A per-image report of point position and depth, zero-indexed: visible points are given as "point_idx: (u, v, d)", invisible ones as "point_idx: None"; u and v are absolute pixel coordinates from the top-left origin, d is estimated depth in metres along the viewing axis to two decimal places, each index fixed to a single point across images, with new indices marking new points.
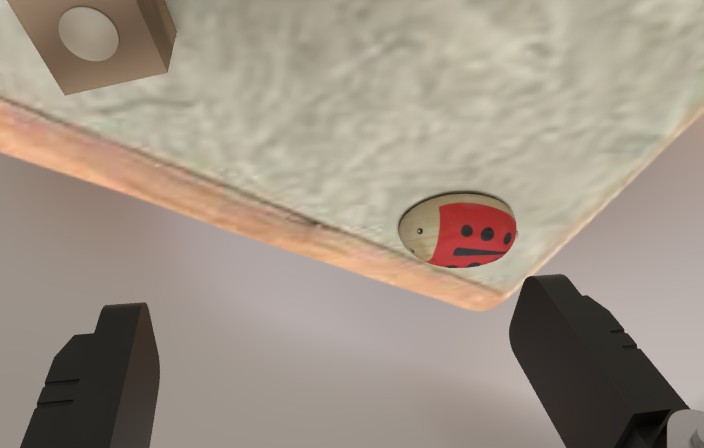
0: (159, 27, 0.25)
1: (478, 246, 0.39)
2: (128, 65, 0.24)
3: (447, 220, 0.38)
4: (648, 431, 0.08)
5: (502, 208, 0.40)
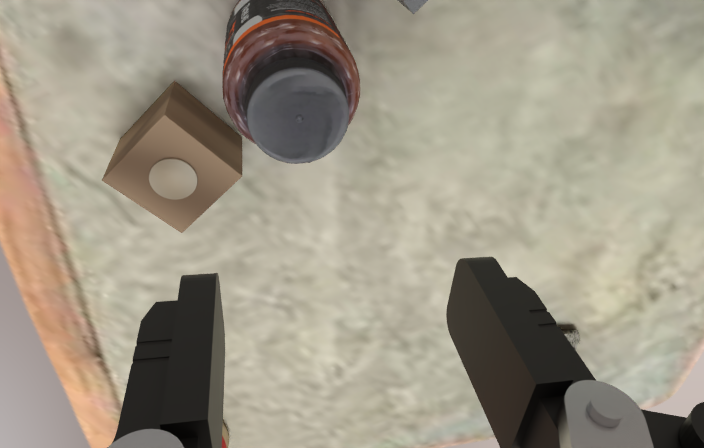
0: None
1: None
2: (167, 209, 0.28)
3: None
4: (552, 401, 0.09)
5: (227, 442, 0.47)
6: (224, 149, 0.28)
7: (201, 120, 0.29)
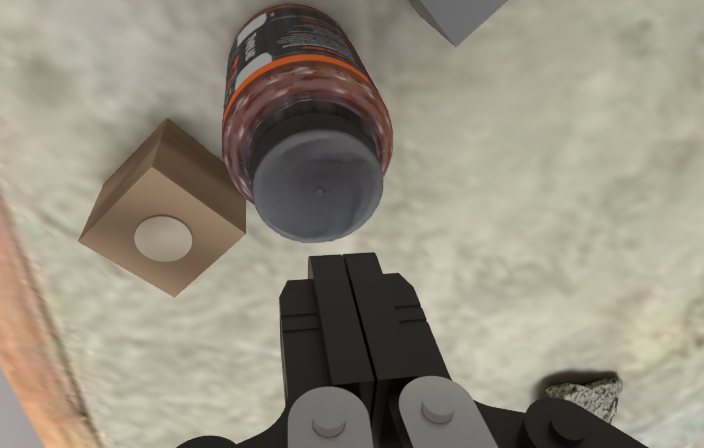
0: None
1: None
2: (156, 271, 0.24)
3: None
4: (397, 397, 0.09)
5: None
6: (225, 201, 0.24)
7: (197, 165, 0.24)
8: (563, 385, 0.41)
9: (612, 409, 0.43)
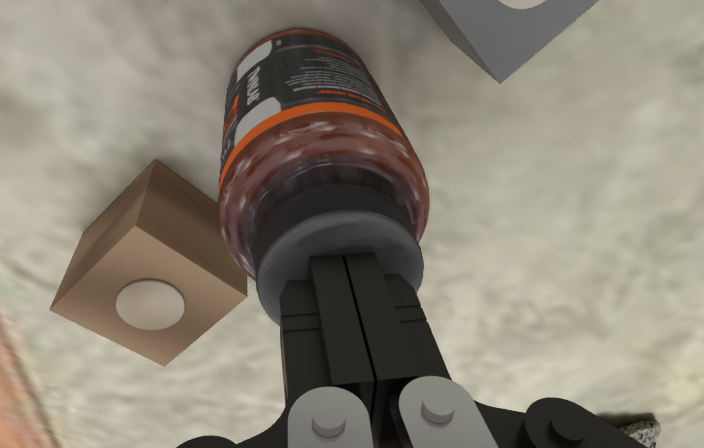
0: None
1: None
2: (143, 340, 0.20)
3: None
4: (397, 397, 0.09)
5: None
6: (223, 257, 0.21)
7: (191, 215, 0.21)
8: None
9: None
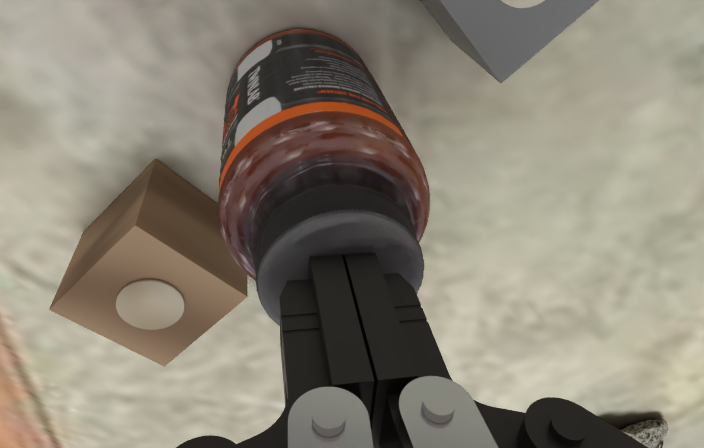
0: None
1: None
2: (143, 339, 0.20)
3: None
4: (397, 397, 0.09)
5: None
6: (223, 257, 0.21)
7: (191, 215, 0.21)
8: None
9: None
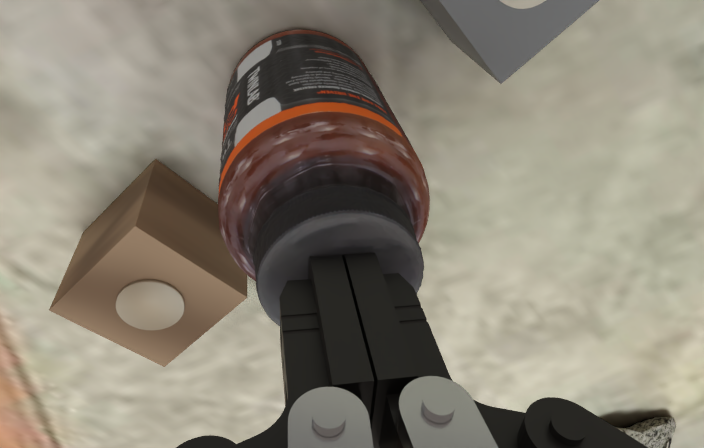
0: None
1: None
2: (142, 340, 0.20)
3: None
4: (397, 397, 0.09)
5: None
6: (223, 258, 0.21)
7: (191, 216, 0.21)
8: None
9: None
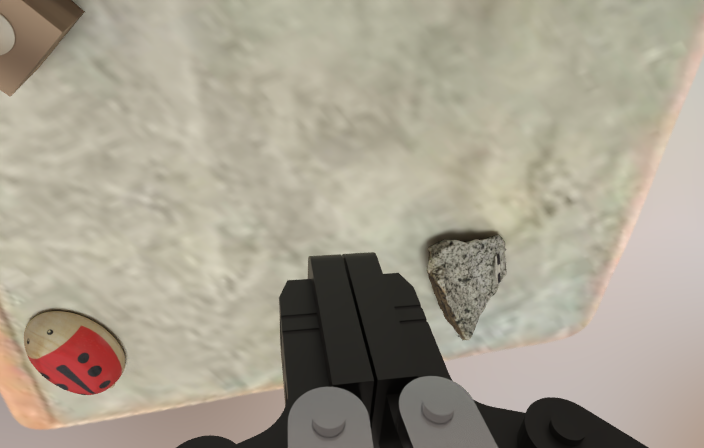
0: (35, 67, 0.30)
1: (80, 375, 0.44)
2: None
3: (77, 340, 0.43)
4: (397, 397, 0.09)
5: (121, 360, 0.47)
6: (48, 8, 0.28)
7: None
8: (441, 242, 0.46)
9: (495, 264, 0.47)
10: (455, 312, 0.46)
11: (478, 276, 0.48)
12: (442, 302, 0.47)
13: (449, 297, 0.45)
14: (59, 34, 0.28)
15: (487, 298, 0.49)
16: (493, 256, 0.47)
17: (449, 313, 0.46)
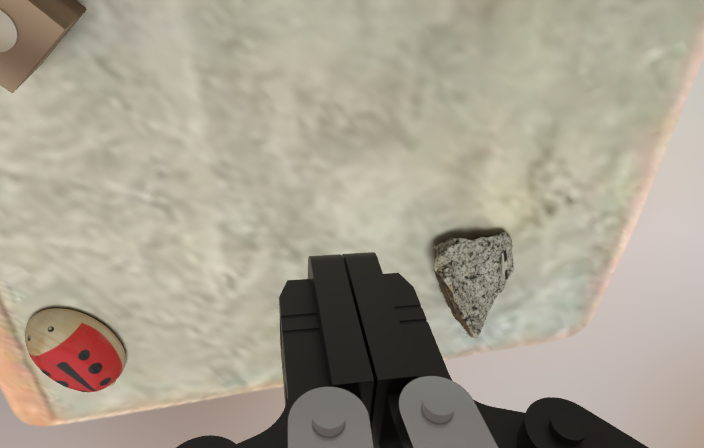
0: (37, 64, 0.30)
1: (81, 372, 0.44)
2: None
3: (78, 337, 0.43)
4: (397, 398, 0.09)
5: (121, 357, 0.47)
6: (50, 5, 0.28)
7: None
8: (447, 240, 0.46)
9: (502, 261, 0.47)
10: (462, 310, 0.46)
11: (485, 274, 0.48)
12: (449, 300, 0.47)
13: (456, 295, 0.45)
14: (61, 31, 0.28)
15: (495, 295, 0.49)
16: (500, 253, 0.47)
17: (457, 311, 0.47)
